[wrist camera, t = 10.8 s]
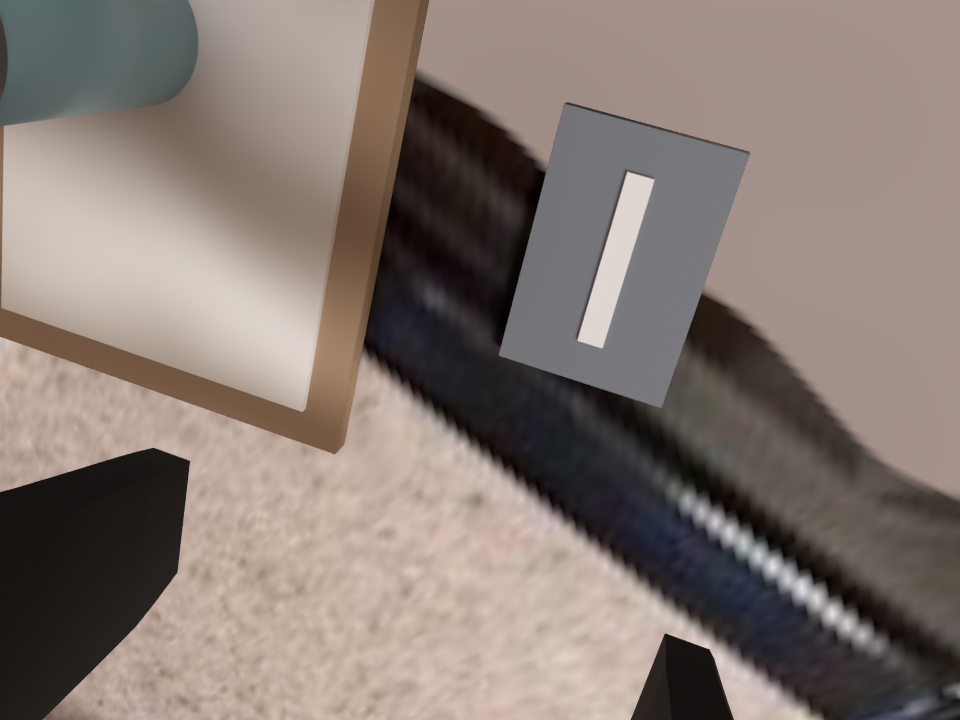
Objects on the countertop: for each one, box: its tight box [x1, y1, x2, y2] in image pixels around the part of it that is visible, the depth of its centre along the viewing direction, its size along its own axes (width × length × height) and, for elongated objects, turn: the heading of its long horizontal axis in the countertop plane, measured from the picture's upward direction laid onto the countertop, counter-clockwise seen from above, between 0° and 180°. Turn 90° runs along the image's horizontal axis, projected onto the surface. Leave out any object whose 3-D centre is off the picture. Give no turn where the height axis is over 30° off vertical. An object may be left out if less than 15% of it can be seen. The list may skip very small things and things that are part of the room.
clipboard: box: [0, 0, 429, 454], centre depth 22 cm, size 14×11×1 cm
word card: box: [499, 102, 750, 408], centre depth 20 cm, size 6×4×1 cm, turn 167°
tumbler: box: [0, 0, 198, 126], centre depth 18 cm, size 3×3×7 cm
